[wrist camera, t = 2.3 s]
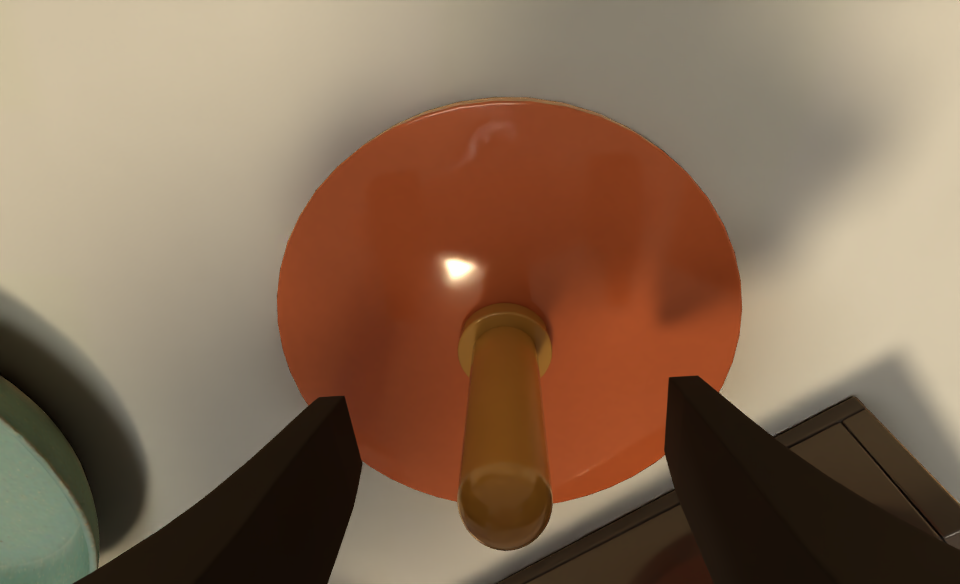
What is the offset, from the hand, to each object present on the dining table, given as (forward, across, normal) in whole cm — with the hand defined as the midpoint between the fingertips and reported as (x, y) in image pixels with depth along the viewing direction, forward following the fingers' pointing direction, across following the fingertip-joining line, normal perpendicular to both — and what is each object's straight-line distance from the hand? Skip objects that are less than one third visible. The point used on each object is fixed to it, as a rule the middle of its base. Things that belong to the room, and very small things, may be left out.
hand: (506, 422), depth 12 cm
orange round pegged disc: (+4, 0, 0) cm, 4 cm away
